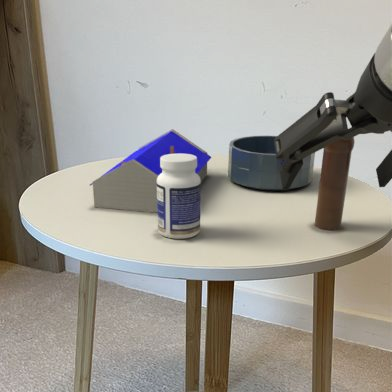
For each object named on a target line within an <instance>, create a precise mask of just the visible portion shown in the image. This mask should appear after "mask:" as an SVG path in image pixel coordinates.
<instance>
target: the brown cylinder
mask: <svg viewBox="0 0 392 392" xmlns="http://www.w3.org/2000/svg"><path fill="white" fill-rule="evenodd" d="M354 147H355V137H353V138H351V139H349V140H344V139H340V140H338V141H336V142H334V143H332V144H330V145H328V146H326V147H325V148H323V149H322V150H323V152H322V160H321V169H320V177H319V186H318V193H317V202H316V210H315V218H314V227H315V228H317V229H320V230H324V231H337V230H339V229H341V227H342V221H343V215H344V214H343V213H344V207H345V200H346V193H347V187H348V180H349V173H350V165H351V159H352V152H353V150H354Z"/></svg>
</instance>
